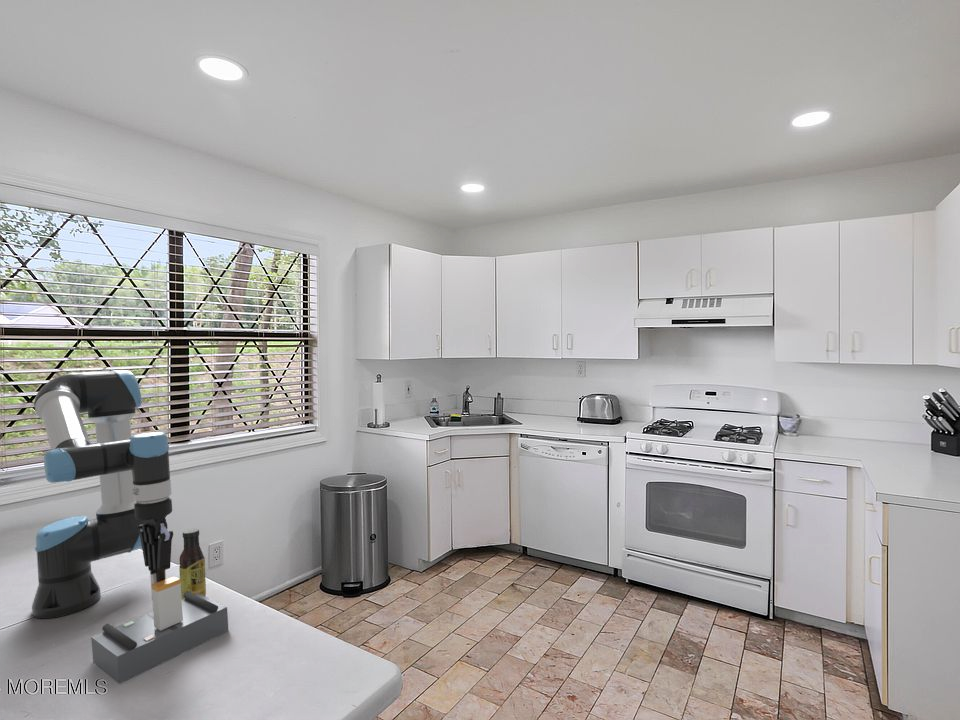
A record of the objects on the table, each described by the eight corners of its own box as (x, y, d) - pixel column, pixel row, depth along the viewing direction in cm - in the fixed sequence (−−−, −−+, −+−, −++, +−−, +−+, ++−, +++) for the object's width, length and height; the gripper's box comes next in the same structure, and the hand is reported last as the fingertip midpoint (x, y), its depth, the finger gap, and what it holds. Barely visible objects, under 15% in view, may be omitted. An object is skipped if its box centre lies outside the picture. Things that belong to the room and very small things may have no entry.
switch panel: (93, 662, 120) (91, 636, 120) (199, 615, 140) (198, 592, 139) (119, 684, 112) (117, 655, 112) (228, 630, 132) (227, 606, 131)
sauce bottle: (195, 608, 144) (190, 536, 143) (175, 606, 145) (170, 535, 144) (212, 596, 150) (208, 527, 149) (193, 595, 151) (188, 526, 150)
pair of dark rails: (102, 632, 122) (102, 625, 122) (189, 596, 138) (189, 590, 138) (128, 651, 114) (128, 643, 114) (218, 610, 130) (218, 604, 129)
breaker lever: (154, 627, 123) (151, 584, 122) (176, 617, 127) (174, 576, 126) (160, 630, 121) (157, 587, 120) (183, 620, 125) (180, 579, 124)
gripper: (123, 499, 125) (130, 597, 126) (148, 507, 118) (155, 611, 119) (157, 491, 132) (163, 584, 132) (183, 498, 124) (189, 597, 125)
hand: (159, 597), depth 126 cm, fingers closed
